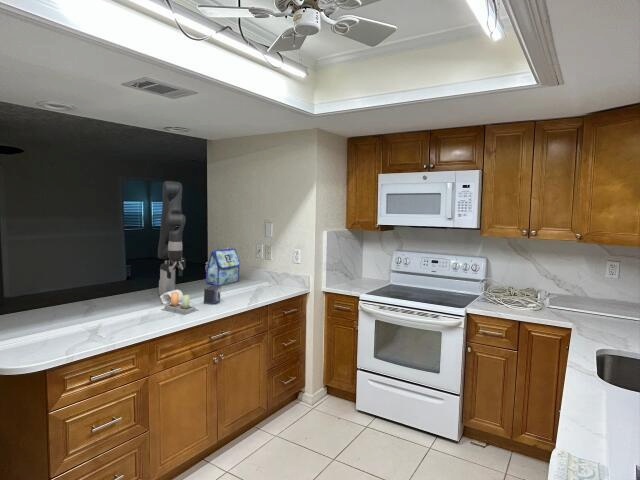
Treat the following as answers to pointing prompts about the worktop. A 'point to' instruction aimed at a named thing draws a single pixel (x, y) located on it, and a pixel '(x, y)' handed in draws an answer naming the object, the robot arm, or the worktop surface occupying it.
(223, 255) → the lunch bag
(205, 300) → the small box
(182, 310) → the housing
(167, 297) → the mug
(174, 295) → the jaw peg orange
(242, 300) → the worktop surface
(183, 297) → the jaw peg olive
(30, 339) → the worktop surface
